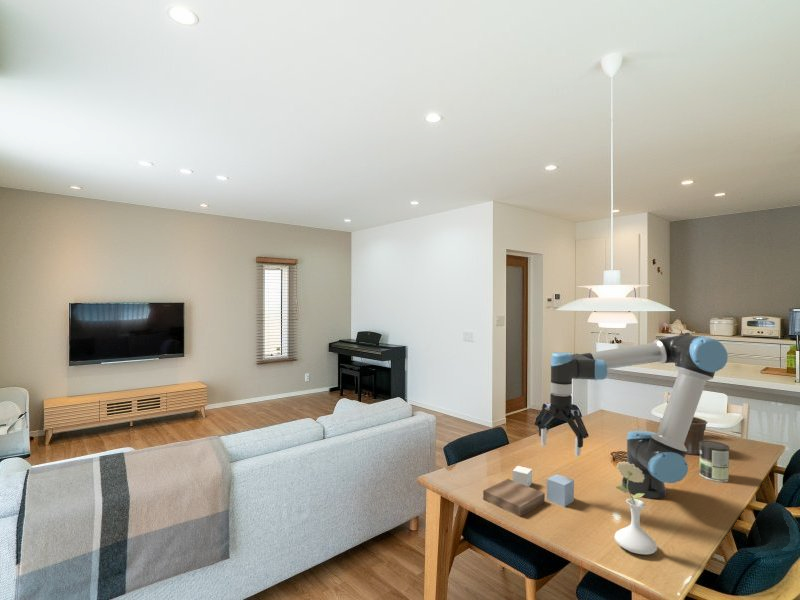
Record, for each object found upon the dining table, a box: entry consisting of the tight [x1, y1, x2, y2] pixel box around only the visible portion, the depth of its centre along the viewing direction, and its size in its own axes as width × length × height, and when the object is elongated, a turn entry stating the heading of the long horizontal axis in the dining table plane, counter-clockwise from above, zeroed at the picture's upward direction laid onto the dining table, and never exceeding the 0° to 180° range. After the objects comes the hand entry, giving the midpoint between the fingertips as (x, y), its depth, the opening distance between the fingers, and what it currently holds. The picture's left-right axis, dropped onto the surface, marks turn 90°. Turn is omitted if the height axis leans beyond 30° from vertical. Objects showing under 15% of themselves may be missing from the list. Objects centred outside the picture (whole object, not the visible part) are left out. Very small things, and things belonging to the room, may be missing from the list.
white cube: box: [512, 465, 533, 487], centre depth 169 cm, size 6×6×6 cm
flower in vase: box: [614, 461, 658, 556], centre depth 127 cm, size 13×11×25 cm
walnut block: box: [482, 478, 546, 517], centre depth 155 cm, size 16×16×4 cm
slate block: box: [546, 473, 575, 508], centre depth 155 cm, size 7×7×8 cm
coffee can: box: [698, 439, 730, 483], centre depth 177 cm, size 10×10×14 cm
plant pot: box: [684, 416, 708, 456], centre depth 209 cm, size 16×16×16 cm
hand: (560, 450), depth 155 cm, fingers open, 13 cm apart
